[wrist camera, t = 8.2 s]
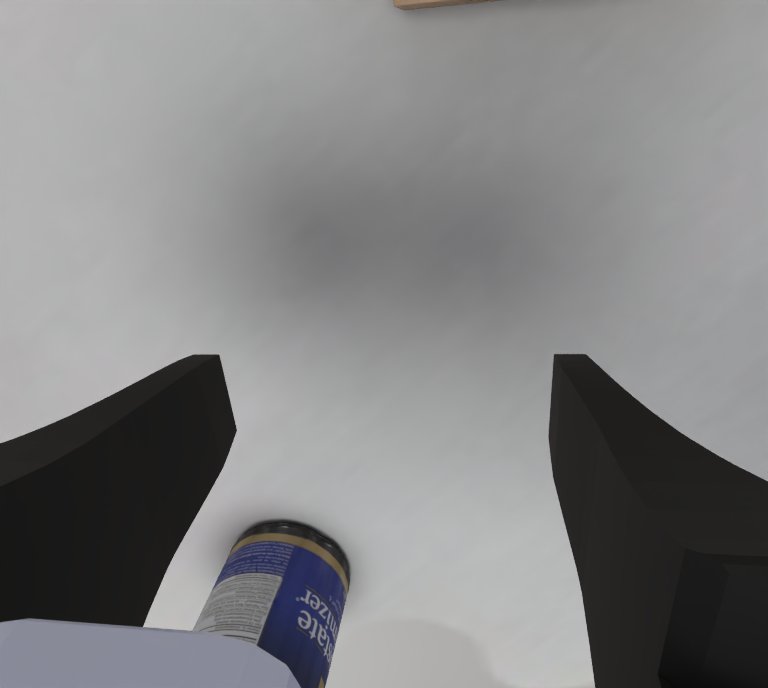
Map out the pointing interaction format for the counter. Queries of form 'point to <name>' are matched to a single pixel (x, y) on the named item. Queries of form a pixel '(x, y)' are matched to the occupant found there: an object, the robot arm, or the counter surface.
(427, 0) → the walnut block
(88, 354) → the counter surface
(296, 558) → the pill bottle
